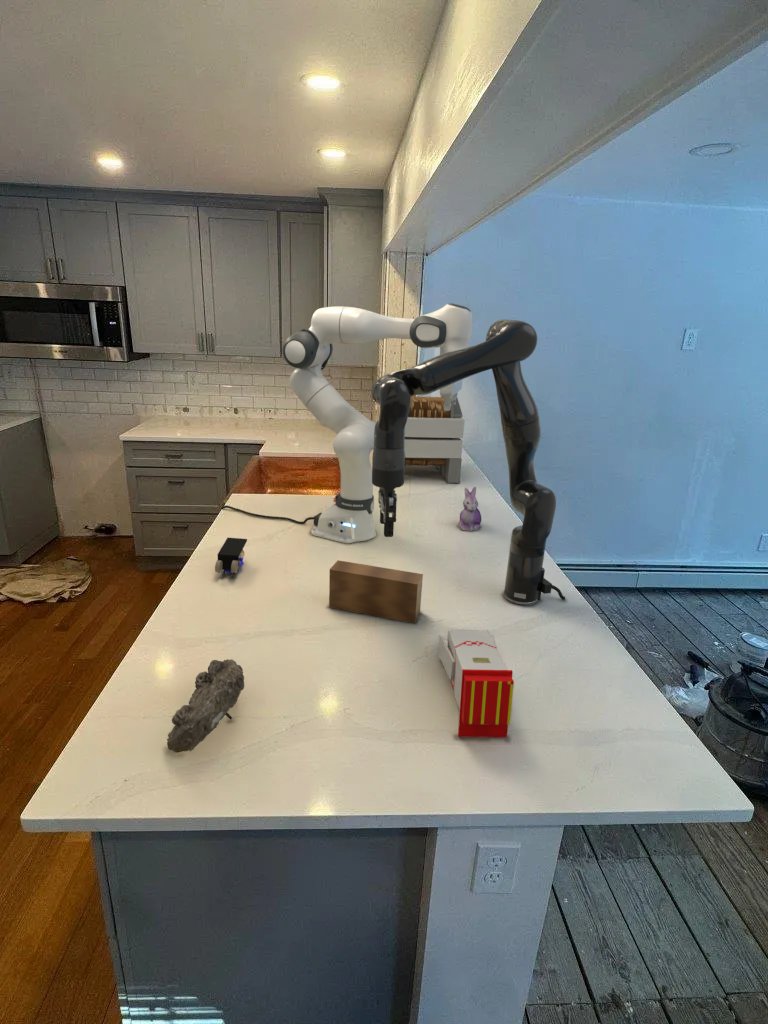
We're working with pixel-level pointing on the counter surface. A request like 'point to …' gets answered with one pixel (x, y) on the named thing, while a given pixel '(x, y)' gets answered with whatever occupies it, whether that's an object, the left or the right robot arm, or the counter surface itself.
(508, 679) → the toy
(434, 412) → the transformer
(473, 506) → the figurine
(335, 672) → the counter surface
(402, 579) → the box
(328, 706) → the counter surface
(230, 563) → the black toy vehicle
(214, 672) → the fossil
